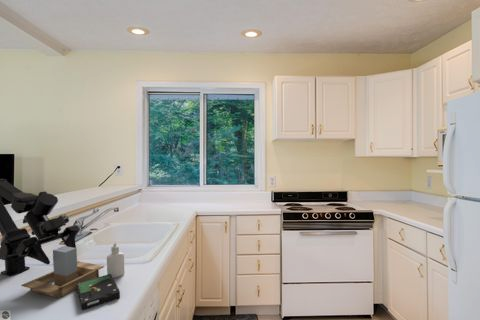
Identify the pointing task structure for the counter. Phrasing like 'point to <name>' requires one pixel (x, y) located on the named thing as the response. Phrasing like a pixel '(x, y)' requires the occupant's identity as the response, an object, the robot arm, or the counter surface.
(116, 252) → the eye dropper bottle
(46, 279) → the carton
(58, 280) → the box
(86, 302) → the disk drive
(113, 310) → the counter surface
